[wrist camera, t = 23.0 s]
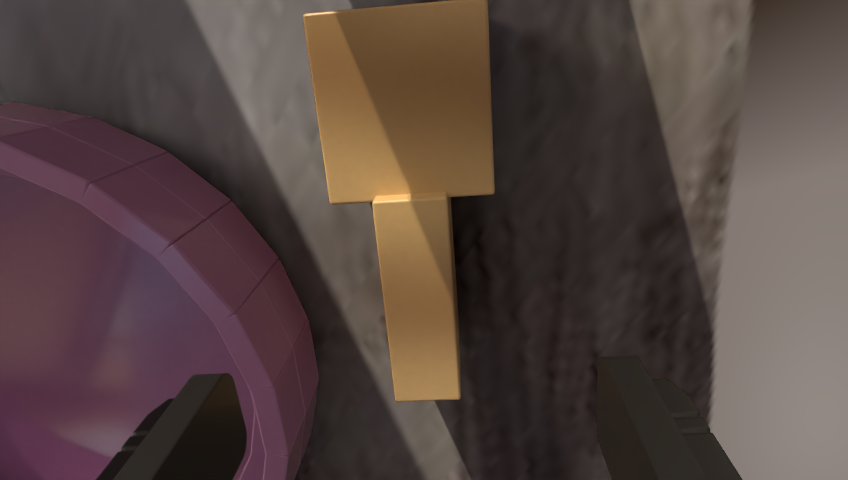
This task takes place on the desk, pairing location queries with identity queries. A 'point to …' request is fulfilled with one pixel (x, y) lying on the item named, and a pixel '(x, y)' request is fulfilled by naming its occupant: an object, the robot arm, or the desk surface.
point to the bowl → (133, 302)
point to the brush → (408, 159)
